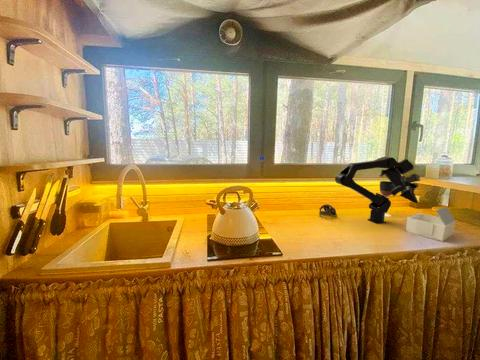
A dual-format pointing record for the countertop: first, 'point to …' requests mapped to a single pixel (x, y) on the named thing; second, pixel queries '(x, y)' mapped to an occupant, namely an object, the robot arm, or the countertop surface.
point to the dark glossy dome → (327, 210)
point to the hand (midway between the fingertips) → (417, 202)
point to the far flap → (445, 215)
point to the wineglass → (386, 190)
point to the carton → (429, 227)
